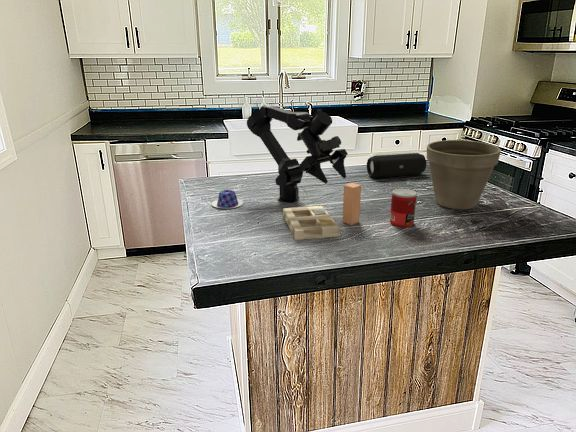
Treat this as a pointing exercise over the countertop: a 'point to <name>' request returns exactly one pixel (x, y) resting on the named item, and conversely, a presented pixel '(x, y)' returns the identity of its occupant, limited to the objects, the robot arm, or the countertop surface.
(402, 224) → the canned food
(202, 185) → the countertop surface
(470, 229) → the countertop surface
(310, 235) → the socket plate
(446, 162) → the plant pot
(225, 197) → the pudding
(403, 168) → the portable speaker
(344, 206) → the plug
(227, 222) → the countertop surface
